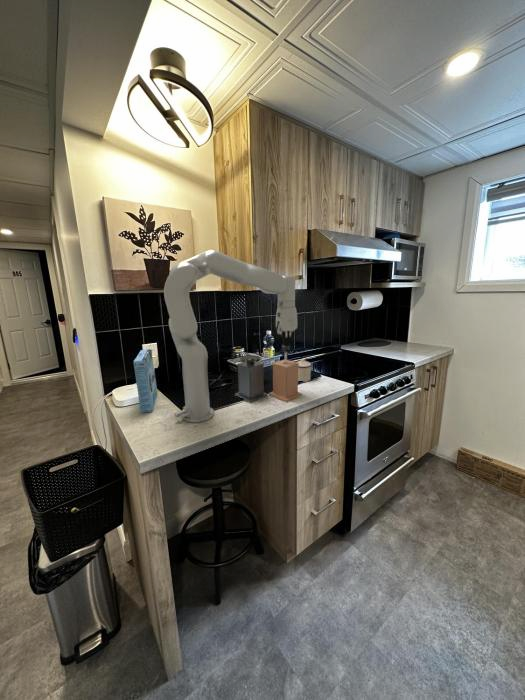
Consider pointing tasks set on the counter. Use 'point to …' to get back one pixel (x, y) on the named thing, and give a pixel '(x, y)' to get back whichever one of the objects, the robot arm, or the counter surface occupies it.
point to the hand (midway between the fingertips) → (286, 345)
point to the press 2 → (285, 381)
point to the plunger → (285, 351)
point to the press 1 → (251, 381)
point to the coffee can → (244, 358)
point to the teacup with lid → (304, 371)
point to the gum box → (145, 380)
